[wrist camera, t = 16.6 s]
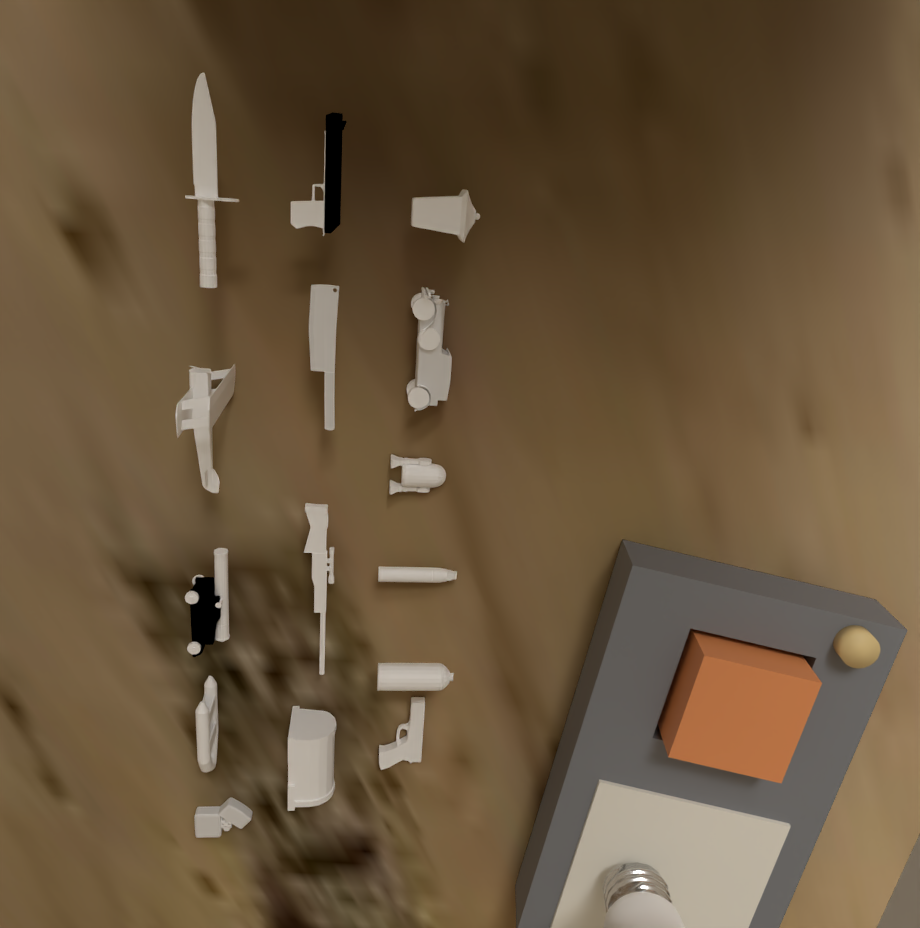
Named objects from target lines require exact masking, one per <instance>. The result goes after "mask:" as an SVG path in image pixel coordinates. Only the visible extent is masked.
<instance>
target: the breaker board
mask: <svg viewBox="0 0 920 928" xmlns="http://www.w3.org/2000/svg"><path fill="white" fill-rule="evenodd" d="M690 628H691V629H695V630H700V631H704V632H708V633H712V634H717V635H721V636H725V637H729V638H733V639H738V640H742V641H746V642H750V643H755V644H759V645H763V646H767V647H772V648H776V649H780V650H784V651H789V652H793V653H797V654H801V655H802V656H803V657H804V659H805V660H806V661H807V663H808V664H809V666H810V667H811V668H812V670H813V671H814V673H815V674H816V675H817V677H818V678H819V679H820V681H821V682H822V685H821V687H820V690H819V692H818V695H817V697H816V700H815V702H814V705H813V707H812V709H811V712H810V714H809V717H808V719H807V722H806V724H805V727H804V729H803V732H802V734H801V736H800V739H799V741H798V744H797V746H796V749H795V751H794V754H793V756H792V759H791V761H790V764H789V766H788V768H787V771H786V773H785V776H784V778H783V781H782V783H777V782H773V781H768V780H764V779H760V778H755V777H751V776H747V775H743V774H738V773H734V772H730V771H725V770H721V769H717V768H713V767H708V766H704V765H700V764H695V763H691V762H687V761H683V760H678V759H674V758H670V757H668V755H667V752H666V749H665V745H664V742H663V739H662V736H661V733H660V730H659V727H658V724H657V723H658V720H659V717H660V715H661V712H662V709H663V706H664V703H665V700H666V697H667V694H668V691H669V689H670V686H671V683H672V680H673V677H674V674H675V671H676V668H677V666H678V663H679V660H680V657H681V654H682V651H683V648H684V645H685V642H686V640H687V637H688V634H689V631H690ZM906 632H907V629H906V628H905V627H904V626H903V625H902V624H901V623H900V622H899V621H897V620H896V619H895V618H894V617H893V616H892V615H891V614H890V613H889V612H888V611H887V610H886V609H885V608H884V607H883V606H882V605H881V604H880V603H879V602H878V601H877V600H876V599H871V598H867V597H863V596H859V595H855V594H850V593H846V592H842V591H838V590H833V589H829V588H825V587H821V586H817V585H812V584H808V583H804V582H800V581H795V580H791V579H787V578H783V577H779V576H774V575H770V574H766V573H762V572H757V571H753V570H749V569H745V568H741V567H736V566H732V565H728V564H724V563H720V562H715V561H711V560H707V559H703V558H698V557H694V556H690V555H686V554H682V553H677V552H673V551H669V550H665V549H660V548H656V547H652V546H648V545H644V544H639V543H635V542H631V541H627V540H622V543H621V546H620V549H619V552H618V556H617V559H616V562H615V565H614V569H613V572H612V575H611V578H610V581H609V585H608V588H607V591H606V594H605V598H604V601H603V604H602V607H601V610H600V614H599V617H598V620H597V623H596V627H595V630H594V633H593V636H592V640H591V643H590V646H589V649H588V652H587V656H586V659H585V662H584V665H583V669H582V672H581V675H580V678H579V681H578V685H577V688H576V691H575V694H574V698H573V701H572V704H571V707H570V711H569V714H568V717H567V720H566V723H565V727H564V730H563V733H562V736H561V740H560V743H559V746H558V749H557V752H556V756H555V759H554V762H553V765H552V769H551V772H550V775H549V778H548V782H547V785H546V788H545V791H544V794H543V798H542V801H541V804H540V807H539V811H538V814H537V817H536V820H535V823H534V827H533V830H532V833H531V836H530V840H529V843H528V846H527V849H526V853H525V856H524V859H523V862H522V865H521V869H520V872H519V875H518V878H517V882H516V885H515V893H516V928H604V920H605V915H606V908H605V901H604V894H603V888H602V887H603V884H604V881H605V878H606V876H607V875H608V874H609V873H610V871H611V870H612V869H613V868H615V867H617V866H620V865H623V864H626V863H635V862H638V863H642V864H647V865H649V866H651V867H652V868H654V869H656V870H657V871H658V872H659V874H660V875H661V876H662V878H663V879H664V880H665V882H666V883H667V885H668V891H669V892H670V899H671V900H672V905H673V906H674V907H675V908H676V910H677V912H678V913H679V915H680V917H681V919H682V922H683V925H684V927H685V928H779V927H780V924H781V922H782V920H783V917H784V915H785V913H786V910H787V908H788V906H789V903H790V901H791V899H792V897H793V894H794V892H795V890H796V887H797V885H798V883H799V880H800V878H801V876H802V873H803V871H804V869H805V866H806V864H807V862H808V859H809V857H810V855H811V853H812V850H813V848H814V846H815V843H816V841H817V839H818V836H819V834H820V832H821V829H822V827H823V825H824V822H825V820H826V818H827V815H828V813H829V811H830V809H831V806H832V804H833V802H834V799H835V797H836V795H837V792H838V790H839V788H840V785H841V783H842V781H843V778H844V776H845V774H846V771H847V769H848V767H849V765H850V762H851V760H852V758H853V755H854V753H855V751H856V748H857V746H858V744H859V741H860V739H861V737H862V734H863V732H864V730H865V727H866V725H867V723H868V720H869V718H870V716H871V714H872V711H873V709H874V707H875V704H876V702H877V700H878V697H879V695H880V693H881V690H882V688H883V686H884V683H885V681H886V679H887V676H888V674H889V672H890V670H891V667H892V665H893V663H894V660H895V658H896V656H897V653H898V651H899V649H900V646H901V644H902V642H903V639H904V637H905V635H906Z"/></svg>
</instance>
